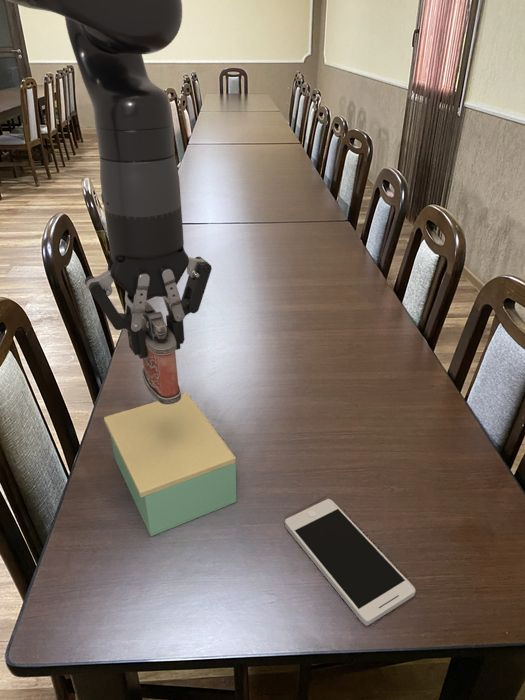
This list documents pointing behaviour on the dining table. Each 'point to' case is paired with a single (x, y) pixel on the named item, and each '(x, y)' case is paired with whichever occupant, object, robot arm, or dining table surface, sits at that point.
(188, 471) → the lunchbox lid
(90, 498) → the dining table surface
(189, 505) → the box
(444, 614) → the dining table surface
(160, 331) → the lighter
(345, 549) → the smartphone
